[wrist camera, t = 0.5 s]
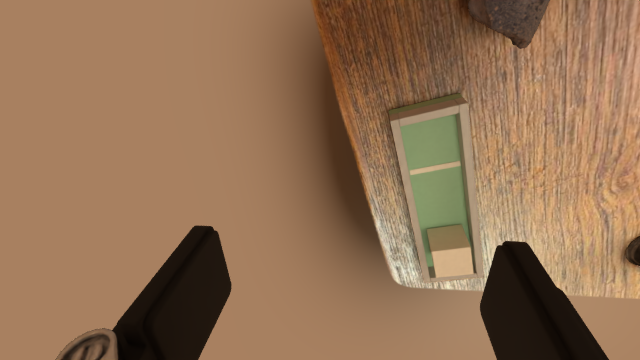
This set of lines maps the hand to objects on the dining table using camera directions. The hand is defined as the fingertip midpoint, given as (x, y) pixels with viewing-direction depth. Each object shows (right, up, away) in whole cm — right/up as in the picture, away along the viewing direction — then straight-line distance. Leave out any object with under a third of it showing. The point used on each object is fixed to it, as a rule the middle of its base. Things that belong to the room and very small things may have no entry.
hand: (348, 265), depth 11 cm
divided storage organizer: (+13, +2, +26) cm, 29 cm away
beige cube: (+14, -4, +27) cm, 31 cm away
